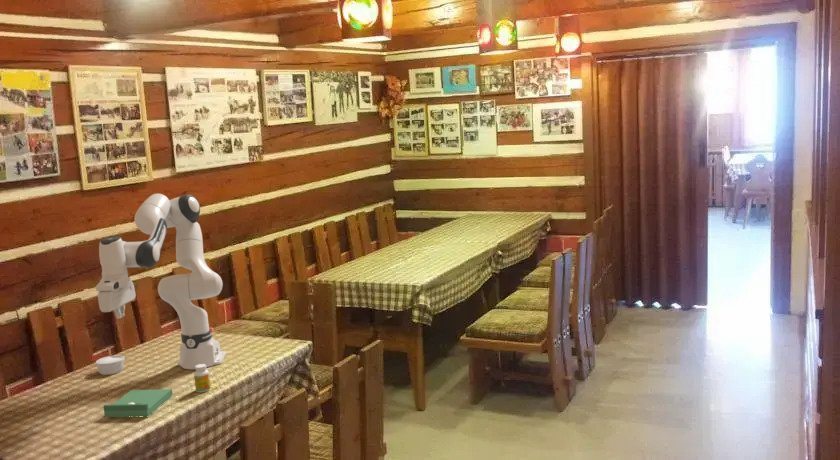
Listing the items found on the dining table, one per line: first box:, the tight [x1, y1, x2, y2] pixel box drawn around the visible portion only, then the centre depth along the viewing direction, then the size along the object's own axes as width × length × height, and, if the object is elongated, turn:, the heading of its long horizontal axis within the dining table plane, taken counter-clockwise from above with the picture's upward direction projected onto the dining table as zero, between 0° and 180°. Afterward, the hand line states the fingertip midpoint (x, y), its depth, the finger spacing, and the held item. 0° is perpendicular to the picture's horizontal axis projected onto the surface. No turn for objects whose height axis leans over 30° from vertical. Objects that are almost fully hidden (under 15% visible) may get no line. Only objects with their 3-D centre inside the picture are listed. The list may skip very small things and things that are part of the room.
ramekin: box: [95, 355, 126, 376], centre depth 319 cm, size 11×11×5 cm
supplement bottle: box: [193, 364, 211, 393], centre depth 289 cm, size 5×5×10 cm
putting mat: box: [103, 388, 174, 419], centre depth 277 cm, size 20×16×4 cm
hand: (120, 317), depth 282 cm, fingers closed
